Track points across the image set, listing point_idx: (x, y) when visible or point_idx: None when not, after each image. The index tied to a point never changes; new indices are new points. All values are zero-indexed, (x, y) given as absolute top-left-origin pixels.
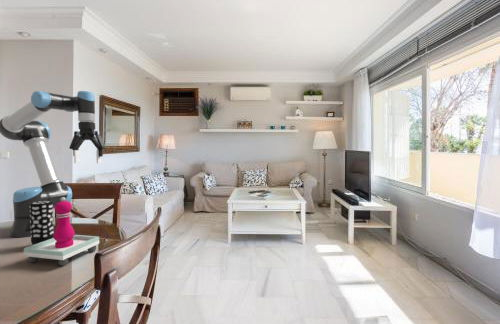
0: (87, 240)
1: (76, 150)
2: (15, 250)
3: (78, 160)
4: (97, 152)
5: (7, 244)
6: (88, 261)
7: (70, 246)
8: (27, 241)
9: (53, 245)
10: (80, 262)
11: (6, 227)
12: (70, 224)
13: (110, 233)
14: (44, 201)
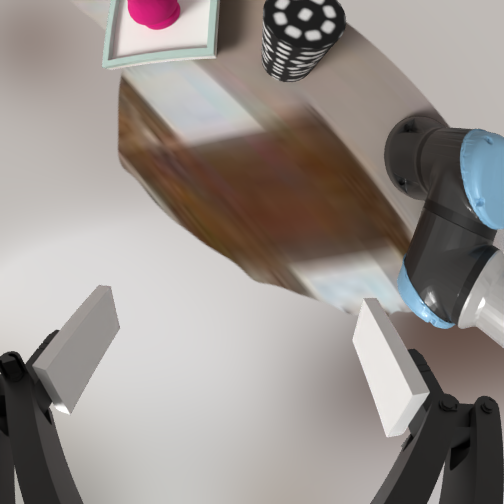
0: (131, 55)
1: (403, 407)
2: None
3: (360, 340)
4: (45, 349)
5: (389, 65)
6: (102, 25)
7: None
8: (363, 87)
9: (189, 6)
10: None
11: None
12: (129, 5)
13: (180, 186)
14: (311, 32)
